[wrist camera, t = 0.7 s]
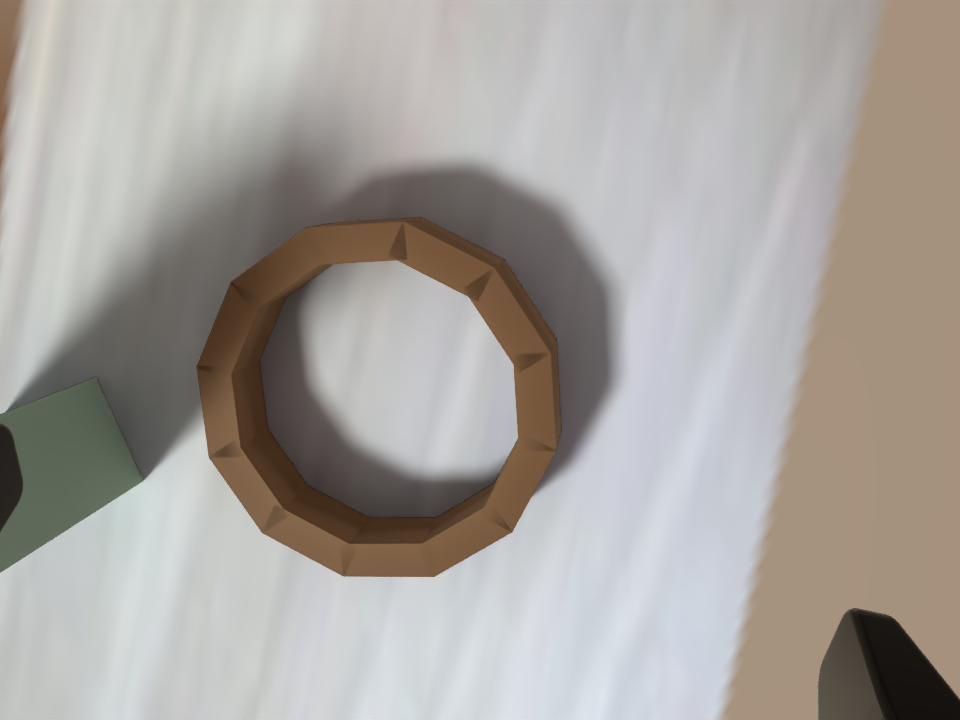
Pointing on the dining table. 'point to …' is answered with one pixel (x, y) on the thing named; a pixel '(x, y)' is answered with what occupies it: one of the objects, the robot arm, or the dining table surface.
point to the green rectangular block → (64, 466)
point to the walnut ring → (271, 475)
